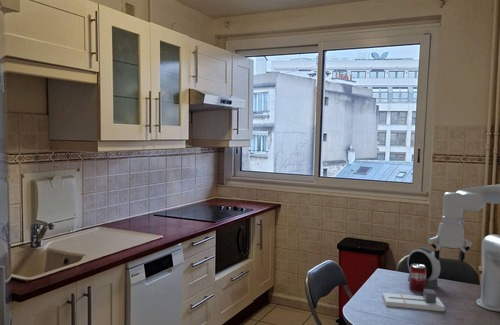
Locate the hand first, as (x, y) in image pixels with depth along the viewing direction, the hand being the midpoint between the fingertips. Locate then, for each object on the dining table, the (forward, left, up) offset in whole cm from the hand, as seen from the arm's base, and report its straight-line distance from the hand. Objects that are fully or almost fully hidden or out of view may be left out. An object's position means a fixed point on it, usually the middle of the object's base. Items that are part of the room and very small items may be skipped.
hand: (449, 260), depth 179 cm
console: (+14, 0, -21) cm, 25 cm away
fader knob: (+7, 0, -18) cm, 20 cm away
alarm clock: (+3, -29, -21) cm, 36 cm away
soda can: (+8, -18, -21) cm, 29 cm away
